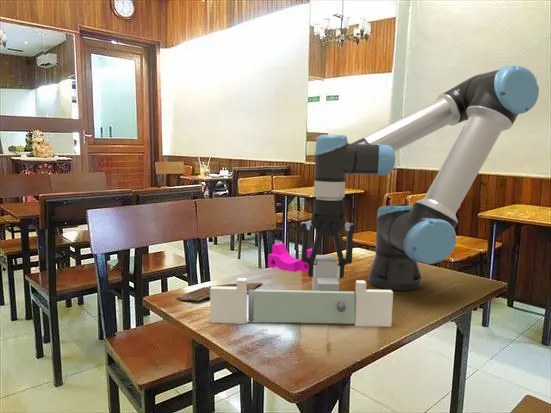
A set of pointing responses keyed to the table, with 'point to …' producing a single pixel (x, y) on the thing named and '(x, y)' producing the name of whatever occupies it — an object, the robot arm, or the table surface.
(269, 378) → the table surface
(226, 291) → the wall frame
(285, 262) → the magenta saddle bracket
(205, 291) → the wooden fragment
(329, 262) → the white stepped block
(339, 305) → the spring door
